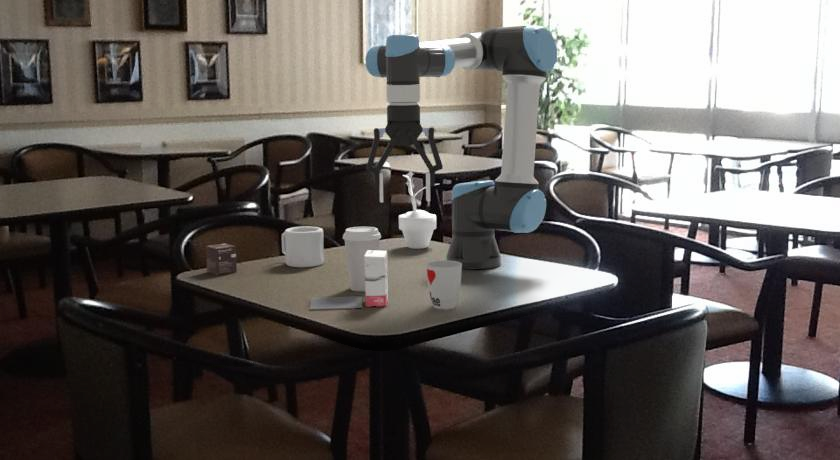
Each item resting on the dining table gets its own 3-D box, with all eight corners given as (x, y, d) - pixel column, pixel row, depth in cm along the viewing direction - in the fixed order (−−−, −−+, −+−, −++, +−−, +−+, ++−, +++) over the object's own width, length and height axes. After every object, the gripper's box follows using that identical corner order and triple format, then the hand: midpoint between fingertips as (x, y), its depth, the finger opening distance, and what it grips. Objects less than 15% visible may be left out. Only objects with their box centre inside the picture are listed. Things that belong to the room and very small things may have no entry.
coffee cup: (353, 294, 234) (351, 233, 232) (338, 287, 242) (336, 228, 240) (388, 290, 238) (387, 230, 236) (372, 282, 247) (371, 224, 244)
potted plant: (395, 250, 290) (394, 167, 286) (402, 243, 302) (401, 163, 297) (437, 251, 288) (436, 167, 284) (442, 244, 299) (442, 163, 295)
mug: (331, 262, 274) (330, 227, 272) (307, 269, 265) (306, 233, 263) (294, 258, 281) (293, 224, 279) (270, 264, 272) (268, 229, 270)
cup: (425, 303, 225) (424, 260, 223) (459, 301, 225) (459, 259, 224) (428, 311, 217) (428, 268, 215) (464, 310, 217) (464, 266, 216)
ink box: (386, 307, 222) (385, 256, 220) (364, 307, 222) (363, 256, 220) (388, 298, 230) (387, 249, 228) (368, 298, 230) (367, 249, 228)
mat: (361, 297, 231) (361, 296, 231) (362, 308, 220) (362, 307, 220) (311, 298, 230) (311, 297, 230) (309, 310, 219) (309, 309, 219)
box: (217, 275, 258) (216, 248, 257) (206, 272, 263) (205, 245, 261) (237, 272, 262) (236, 245, 261) (226, 269, 267) (224, 242, 265)
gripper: (451, 102, 223) (452, 197, 227) (353, 104, 222) (355, 200, 225) (454, 103, 216) (455, 202, 220) (353, 105, 214) (355, 204, 218)
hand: (404, 201), depth 222 cm, fingers open, 10 cm apart
